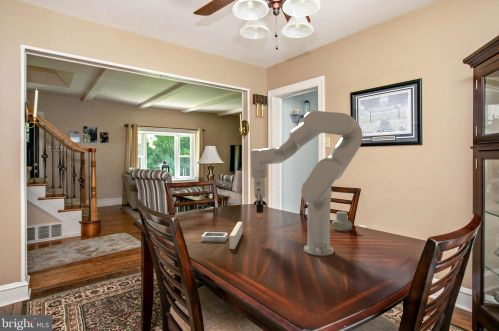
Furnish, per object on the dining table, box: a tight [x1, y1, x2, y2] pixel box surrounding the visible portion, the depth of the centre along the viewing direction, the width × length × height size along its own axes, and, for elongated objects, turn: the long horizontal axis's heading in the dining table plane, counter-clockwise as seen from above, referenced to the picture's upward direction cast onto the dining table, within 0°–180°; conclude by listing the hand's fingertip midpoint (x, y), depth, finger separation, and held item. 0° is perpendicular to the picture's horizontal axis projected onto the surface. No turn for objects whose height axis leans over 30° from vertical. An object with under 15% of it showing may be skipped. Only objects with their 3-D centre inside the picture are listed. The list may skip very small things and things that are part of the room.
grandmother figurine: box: [251, 197, 269, 220], centre depth 133 cm, size 8×4×13 cm, turn 83°
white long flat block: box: [229, 221, 243, 250], centre depth 135 cm, size 26×2×6 cm, turn 174°
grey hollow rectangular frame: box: [200, 231, 229, 243], centre depth 136 cm, size 8×12×2 cm, turn 84°
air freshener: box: [331, 211, 353, 232], centre depth 153 cm, size 11×8×10 cm
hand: (260, 211), depth 133 cm, fingers closed on grandmother figurine, 3 cm apart
